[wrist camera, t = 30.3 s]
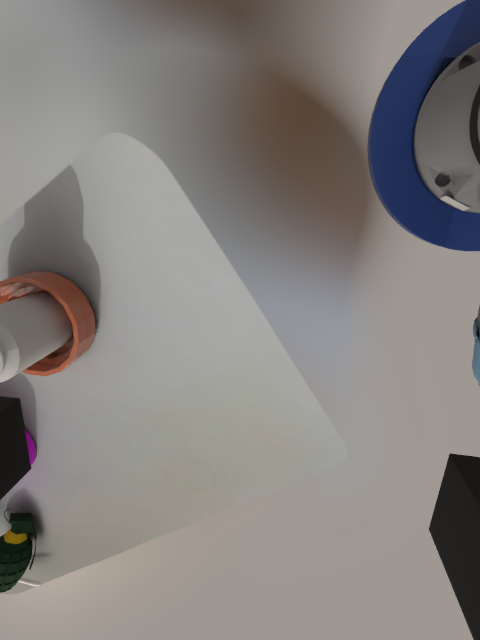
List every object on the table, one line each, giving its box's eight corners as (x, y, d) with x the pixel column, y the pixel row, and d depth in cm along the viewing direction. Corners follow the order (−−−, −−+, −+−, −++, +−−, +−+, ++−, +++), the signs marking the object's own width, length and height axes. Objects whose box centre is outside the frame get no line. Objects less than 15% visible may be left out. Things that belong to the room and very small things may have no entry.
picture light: (40, 588, 60) (49, 576, 62) (32, 569, 58) (42, 557, 60) (-23, 572, 64) (-12, 561, 66) (-32, 554, 62) (-21, 543, 64)
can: (16, 292, 46) (-75, 321, 35) (69, 288, 45) (-7, 317, 33) (32, 347, 48) (-49, 391, 37) (83, 344, 47) (16, 390, 36)
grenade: (-20, 575, 59) (2, 503, 59) (26, 572, 62) (46, 504, 62) (-28, 606, 53) (-4, 528, 53) (23, 602, 56) (46, 527, 56)
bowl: (94, 274, 44) (72, 281, 40) (101, 364, 48) (82, 380, 44) (3, 267, 46) (-27, 273, 42) (17, 355, 50) (-9, 370, 45)
